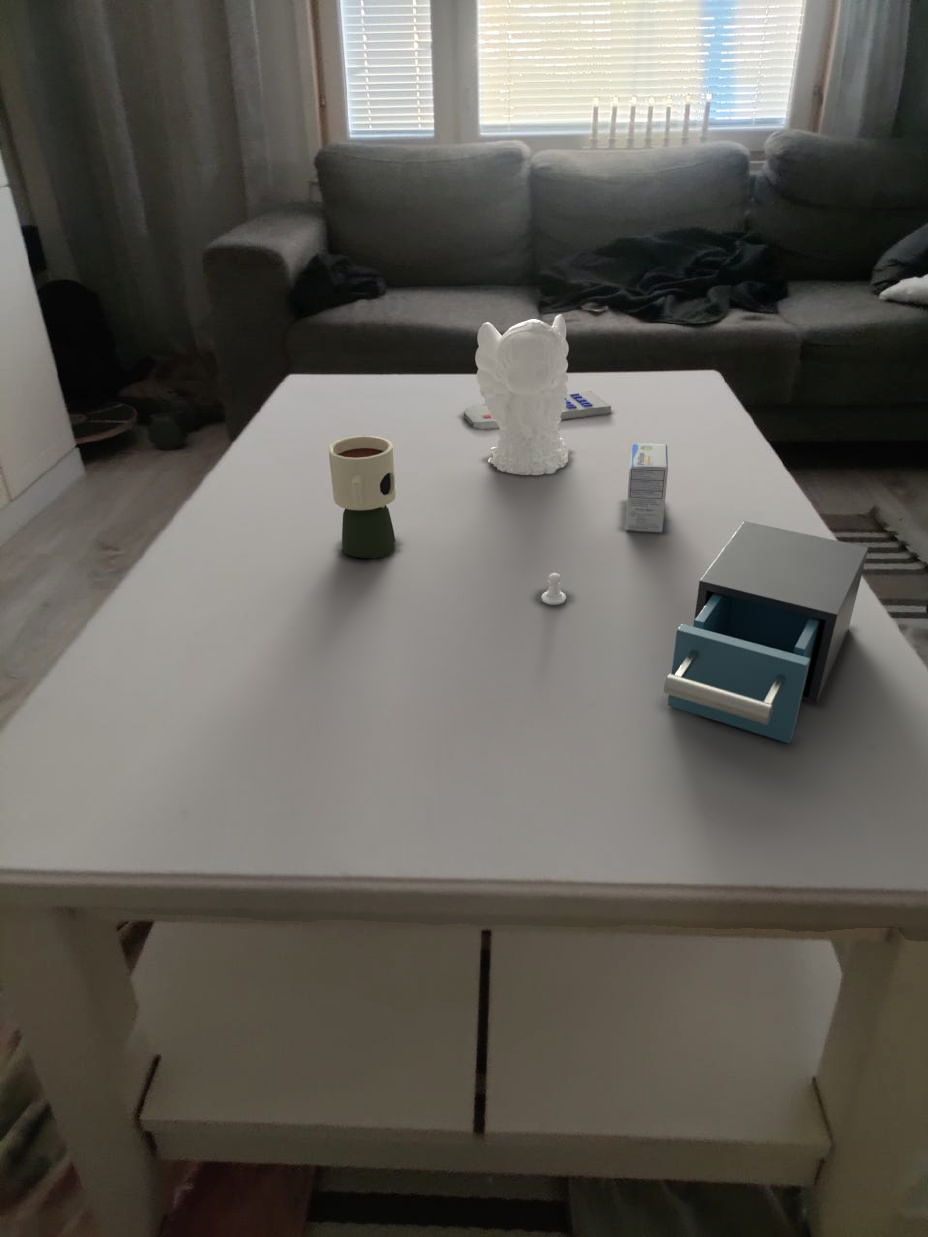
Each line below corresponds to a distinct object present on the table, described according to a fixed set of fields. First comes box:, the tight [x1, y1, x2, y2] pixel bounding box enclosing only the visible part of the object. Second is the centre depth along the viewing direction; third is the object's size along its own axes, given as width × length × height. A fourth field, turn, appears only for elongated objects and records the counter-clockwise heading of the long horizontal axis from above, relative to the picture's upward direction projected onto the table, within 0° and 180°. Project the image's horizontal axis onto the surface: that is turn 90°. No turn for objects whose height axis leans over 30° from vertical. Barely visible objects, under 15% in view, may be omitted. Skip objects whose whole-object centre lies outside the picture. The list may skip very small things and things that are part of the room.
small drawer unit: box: [692, 520, 869, 704], centre depth 82 cm, size 14×12×10 cm
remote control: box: [463, 390, 612, 430], centre depth 142 cm, size 8×23×2 cm, turn 107°
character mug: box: [328, 435, 397, 560], centre depth 101 cm, size 11×7×13 cm, turn 178°
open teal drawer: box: [663, 593, 826, 744], centre depth 75 cm, size 18×10×8 cm, turn 149°
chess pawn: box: [541, 572, 567, 606], centre depth 92 cm, size 3×3×4 cm
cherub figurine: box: [474, 314, 570, 476], centre depth 121 cm, size 13×12×20 cm
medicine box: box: [625, 442, 669, 533], centre depth 107 cm, size 8×4×9 cm, turn 170°
